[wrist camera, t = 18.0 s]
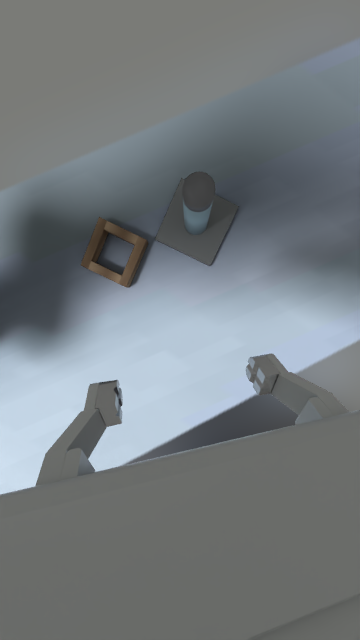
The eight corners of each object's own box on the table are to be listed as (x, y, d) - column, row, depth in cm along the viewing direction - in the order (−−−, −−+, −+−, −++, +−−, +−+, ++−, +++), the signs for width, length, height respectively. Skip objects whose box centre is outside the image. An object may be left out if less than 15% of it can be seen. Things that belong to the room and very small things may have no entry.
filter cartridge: (180, 229, 35) (176, 198, 24) (190, 207, 35) (190, 166, 24) (201, 238, 35) (206, 212, 24) (211, 216, 35) (221, 180, 24)
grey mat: (155, 240, 36) (155, 238, 36) (181, 180, 35) (181, 178, 34) (209, 266, 37) (210, 265, 36) (237, 208, 35) (238, 206, 34)
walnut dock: (86, 266, 38) (80, 265, 36) (104, 221, 36) (99, 217, 34) (129, 287, 38) (126, 287, 36) (148, 242, 37) (146, 239, 35)
